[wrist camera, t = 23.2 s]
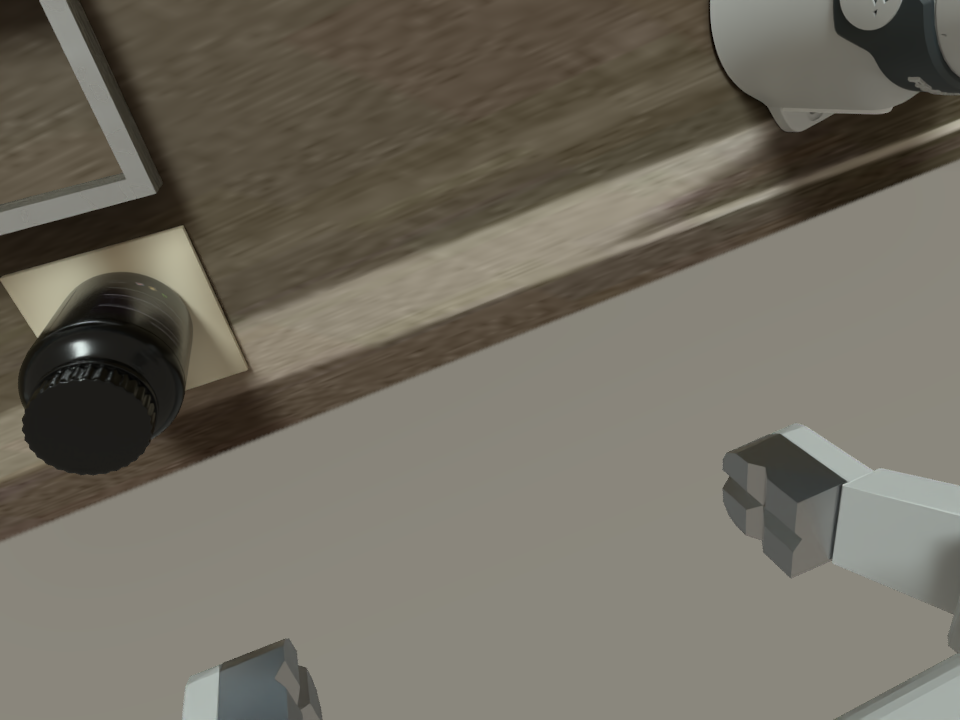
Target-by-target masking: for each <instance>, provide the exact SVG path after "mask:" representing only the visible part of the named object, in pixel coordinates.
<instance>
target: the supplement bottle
mask: <svg viewBox="0 0 960 720" xmlns="http://www.w3.org/2000/svg"><path fill="white" fill-rule="evenodd" d="M192 340H193V324H192V319H191V316H190V313H189V311H188V309H187V307H186V305H185V303H184V302H183V301H182V299H181V298H180V297H179V296H178V295H177V294H176V293H175V292H174V291H173V290H172V289H171V288H169V287H168V286H167V285H165V284H164V283H162V282H160V281H158V280H156V279H154V278H152V277H149V276H146V275H142V274H138V273H132V272H111V273H105V274H101V275H97V276H95V277H92V278H90V279H88V280H86V281H84V282H82V283H81V284H80V285H78V286H77V287H76V288H75V289H74V290H73V291H71V293H70V294H69V295H68V296H67V297H66V299H65V300H64V301H63V303H62V304H61V305H60V307H59V308H58V310H57V311H56V313H55V314H54V315H53V317H52V318H51V320H50V321H49V323H48V324H47V325H46V327H45V328H44V330H43V331H42V333H41V334H40V335H39V337H38V338H37V340H36V341H35V343H34V344H33V345H32V347H31V348H30V350H29V351H28V353H27V355H26V357H25V359H24V361H23V363H22V365H21V368H20V371H19V376H18V391H19V396H20V399H21V402H22V405H23V407H24V409H25V414H24V416H23V418H22V422H23V424H24V425H23V428H22V431H23V433H24V434H25V441H26V442H27V443H28V444H29V448H30V450H32V451H33V452H35V454H36V456H37V457H38V458H40V459H42V460H44V462H45V463H46V464H48V465H52V466H54V467H55V468H56V469H58V470H64V471H66V472H68V473H77V474H79V475H85V474H90V475H97V474H106V473H109V472H110V471H117V470H119V469H120V468H121V467H126V466H128V465H129V464H130V463H131V462H133V461H136V460H137V459H138V457H139V456H140V455H141V454H143V453H144V452H145V449H146V447H147V446H148V445H149V444H150V441H151V440H152V439H153V438H155V437H156V436H158V435H159V434H161V433H162V432H163V431H164V430H165V429H166V428H167V427H168V426H169V425H170V424H171V423H172V422H173V420H174V419H175V418H176V416H177V414H178V413H179V410H180V408H181V406H182V402H183V399H184V395H185V389H186V382H187V375H188V368H189V361H190V355H191V348H192Z"/></svg>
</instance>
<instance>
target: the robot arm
mask: <svg viewBox="0 0 960 720" xmlns="http://www.w3.org/2000/svg"><path fill="white" fill-rule="evenodd" d="M710 18H711V28H712V35H713V39H714V44H715V47H716V51H717V54H718V56H719V59H720V61H721V63H722V65H723V67H724V69H725V71H726V72H727V74H728V75H729V77H730V78H731V79H732V81H733V82H734V83H735V84H736V85H737V86H738V87H739V88H740V89H741V90H743V91H744V92H745V93H747V94H748V95H750V96H752V97H754V98H755V99H757V100H759V101H761V102H762V103H764V104H765V105H766V106H767V107H768V108H769V110H770V112H771V114H772V116H773V117H774V119H775V121H776V122H777V124H778V125H779V127H780V128H781V129H782V130H784V131H786V132H801V131H803V130H806V129H807V128H809V127H811V126H813V125H815V124H817V123H818V122H820V121H822V120H824V119H826V118H827V117H829V116H831V115H833V114H835V113H846V114H884V113H888V112H890V111H891V110H892V108H893V107H894V106H896V105H899V104H901V103H903V102H905V101H907V100H908V99H910V98H911V97H913V96H914V95H916V94H917V93H919V92H929V93H931V94H939V95H960V0H710ZM723 471H724V472H726V473H727V474H728V475H729V478H728V480H727V481H726V483H725V485H724V487H723V502H724V505H725V507H726V510H727V512H728V515H729V516H730V518H731V519H732V521H733V522H734V523H735V525H736V526H737V527H738V528H739V529H740V530H741V531H742V532H743V533H744V534H745V535H747V536H750V537H753V538H756V539H759V540H762V546H763V552H764V553H765V554H766V555H767V556H768V557H769V558H770V559H771V560H772V561H773V562H774V563H775V564H776V565H777V566H778V567H779V568H780V569H781V570H782V571H784V572H785V573H786V574H787V575H788V576H789V577H790V578H793V577H795V576H797V575H800V574H802V573H804V572H807V571H809V570H811V569H814V568H816V567H818V566H820V565H822V564H825V563H827V562H830V561H832V563H833V564H835V565H837V566H840V567H842V568H845V569H847V570H850V571H852V572H854V573H857V574H859V575H861V576H864V577H866V578H868V579H871V580H873V581H875V582H878V583H880V584H883V585H885V586H887V587H890V588H892V589H894V590H897V591H899V592H902V593H904V594H906V595H909V596H911V597H914V598H916V599H918V600H921V601H923V602H925V603H928V604H930V605H932V606H935V607H937V608H940V609H942V610H944V611H947V612H949V613H951V614H954V617H953V620H952V623H951V627H950V630H949V633H948V646H950V647H951V648H952V649H953V650H954V651H955V652H957V654H955V655H953V656H951V657H949V658H948V659H946V660H944V661H942V662H940V663H938V664H936V665H934V666H933V667H931V668H929V669H927V670H925V671H923V672H921V673H920V674H918V675H916V676H914V677H912V678H910V679H908V680H907V681H905V682H903V683H901V684H899V685H897V686H896V687H893V688H892V689H890V690H888V691H886V692H884V693H882V694H880V695H879V696H877V697H875V698H873V699H871V700H869V701H867V702H866V703H864V704H862V705H860V706H858V707H856V708H855V709H853V710H851V711H849V712H847V713H846V714H843V715H841V716H840V717H838V718H836V719H834V720H960V485H955V484H951V483H946V482H942V481H937V480H933V479H928V478H924V477H919V476H915V475H910V474H906V473H901V472H896V471H892V470H887V469H883V468H879V469H877V470H874V471H873V470H872V469H870V468H869V467H867V466H866V465H864V464H863V463H861V462H859V461H858V460H856V459H855V458H853V457H852V456H850V455H849V454H847V453H846V452H844V451H843V450H841V449H840V448H838V447H837V446H835V445H834V444H832V443H831V442H829V441H828V440H826V439H825V438H823V437H822V436H820V435H819V434H817V433H816V432H814V431H813V430H811V429H809V428H808V427H806V426H805V425H802V424H797V423H795V424H793V425H790V426H788V427H786V428H784V429H781V430H779V431H776V432H774V433H772V434H769V435H766V436H764V437H762V438H759V439H757V440H755V441H752V442H750V443H748V444H746V445H743V446H741V447H739V448H737V449H734V450H732V451H729V452H727V453H726V455H725V456H724V458H723ZM182 720H322V712H321V706H320V702H319V699H318V694H317V690H316V687H315V685H314V682H313V680H312V677H311V675H310V674H309V672H308V670H307V668H305V667H302V666H299V665H298V659H297V651H296V649H295V647H294V646H293V644H292V643H291V641H290V639H283V640H281V641H278V642H275V643H273V644H270V645H268V646H265V647H263V648H260V649H258V650H255V651H252V652H250V653H247V654H245V655H242V656H240V657H237V658H234V659H232V660H229V661H227V662H224V663H223V664H221V665H218V666H215V667H213V668H210V669H208V670H205V671H203V672H200V673H198V674H195V675H193V676H190V678H189V681H188V683H187V685H186V687H185V694H184V704H183V714H182Z"/></svg>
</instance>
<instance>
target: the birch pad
mask: <svg viewBox="0 0 960 720" xmlns="http://www.w3.org/2000/svg"><path fill="white" fill-rule="evenodd" d="M111 272H132V273H138V274H142V275H146V276H149V277H152V278H154V279H156V280H158V281H160V282H162V283H164V284H165V285H167V286H168V287H169V288H171V289H172V290H173V291H174V292H175V293H176V294H177V295H178V296H179V297H180V298H181V299H182V301H183V302H184V303H185V305H186V307H187V309H188V311H189V313H190V316H191V319H192V324H193V340H192V348H191V355H190V361H189V368H188V375H187V382H186V389H185V391H186V390H189V389H192V388H195V387H198V386H201V385H204V384H207V383H210V382H213V381H216V380H219V379H222V378H225V377H228V376H231V375H234V374H237V373H240V372H243V371H246V370H248V365H247V363H246V361H245V358H244V356H243V354H242V352H241V350H240V348H239V345H238V343H237V341H236V339H235V337H234V334H233V332H232V330H231V328H230V326H229V324H228V321H227V319H226V317H225V315H224V313H223V310H222V308H221V306H220V304H219V302H218V300H217V297H216V295H215V293H214V291H213V289H212V286H211V284H210V282H209V280H208V278H207V276H206V273H205V271H204V269H203V267H202V265H201V262H200V260H199V258H198V256H197V254H196V252H195V249H194V247H193V245H192V243H191V241H190V238H189V236H188V234H187V232H186V230H185V228H184V225H182V226H178V227H175V228H171V229H167V230H164V231H160V232H157V233H153V234H150V235H146V236H142V237H139V238H135V239H132V240H128V241H125V242H121V243H117V244H114V245H110V246H107V247H103V248H100V249H96V250H92V251H89V252H85V253H82V254H78V255H75V256H71V257H67V258H64V259H60V260H57V261H53V262H50V263H46V264H42V265H39V266H35V267H32V268H28V269H25V270H21V271H17V272H14V273H10V274H7V275H3V276H2V277H1V278H0V281H1V282H2V284H3V285H4V287H5V288H6V290H7V291H8V293H9V295H10V296H11V298H12V299H13V301H14V302H15V304H16V305H17V307H18V309H19V310H20V312H21V313H22V315H23V316H24V318H25V319H26V321H27V322H28V324H29V326H30V327H31V329H32V330H33V332H34V333H35V335H36V336H37V338H38V337H39V335H40V334H41V333H42V331H43V330H44V328H45V327H46V325H47V324H48V323H49V321H50V320H51V318H52V317H53V315H54V314H55V313H56V311H57V310H58V308H59V307H60V305H61V304H62V303H63V301H64V300H65V299H66V297H67V296H68V295H69V294H70V293H71V291H73V290H74V289H75V288H76V287H77V286H78V285H80V284H81V283H82V282H84V281H86V280H88V279H90V278H92V277H95V276H97V275H101V274H105V273H111Z"/></svg>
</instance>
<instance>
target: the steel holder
mask: <svg viewBox="0 0 960 720" xmlns="http://www.w3.org/2000/svg"><path fill="white" fill-rule="evenodd" d="M39 1H40V3H41V5H42V7H43V9H44V11H45V13H46V15H47V18H48V20H49V22H50V24H51V26H52V28H53V30H54V32H55V34H56V36H57V38H58V40H59V42H60V44H61V46H62V48H63V50H64V52H65V54H66V56H67V59H68V61H69V63H70V65H71V67H72V69H73V71H74V73H75V75H76V77H77V79H78V81H79V83H80V85H81V87H82V89H83V91H84V93H85V95H86V97H87V100H88V102H89V104H90V106H91V108H92V110H93V112H94V114H95V116H96V118H97V120H98V122H99V124H100V126H101V128H102V130H103V132H104V134H105V136H106V138H107V140H108V143H109V145H110V147H111V149H112V151H113V153H114V155H115V157H116V159H117V161H118V163H119V165H120V167H121V169H122V171H123V173H121V174H117V175H113V176H109V177H106V178H102V179H98V180H94V181H90V182H86V183H82V184H79V185H75V186H71V187H67V188H63V189H59V190H55V191H52V192H48V193H44V194H40V195H36V196H32V197H28V198H25V199H21V200H17V201H13V202H9V203H5V204H1V205H0V235H4V234H7V233H11V232H15V231H19V230H22V229H26V228H30V227H33V226H37V225H41V224H45V223H48V222H52V221H56V220H60V219H63V218H67V217H71V216H74V215H78V214H82V213H86V212H89V211H93V210H97V209H101V208H104V207H108V206H112V205H116V204H119V203H123V202H127V201H130V200H134V199H138V198H142V197H145V196H149V195H153V194H156V193H157V192H158V190H159V188H160V187H161V185H162V184H163V182H162V180H161V177H160V175H159V173H158V171H157V169H156V167H155V164H154V162H153V160H152V158H151V156H150V154H149V151H148V149H147V147H146V145H145V143H144V140H143V138H142V136H141V134H140V132H139V130H138V127H137V125H136V123H135V121H134V119H133V117H132V114H131V112H130V110H129V108H128V106H127V103H126V101H125V99H124V97H123V95H122V93H121V90H120V88H119V86H118V84H117V82H116V79H115V77H114V75H113V73H112V71H111V69H110V66H109V64H108V62H107V60H106V58H105V56H104V53H103V51H102V49H101V47H100V45H99V42H98V40H97V38H96V36H95V34H94V32H93V29H92V27H91V25H90V23H89V21H88V19H87V16H86V14H85V12H84V10H83V8H82V5H81V3H80V1H79V0H39Z"/></svg>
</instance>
